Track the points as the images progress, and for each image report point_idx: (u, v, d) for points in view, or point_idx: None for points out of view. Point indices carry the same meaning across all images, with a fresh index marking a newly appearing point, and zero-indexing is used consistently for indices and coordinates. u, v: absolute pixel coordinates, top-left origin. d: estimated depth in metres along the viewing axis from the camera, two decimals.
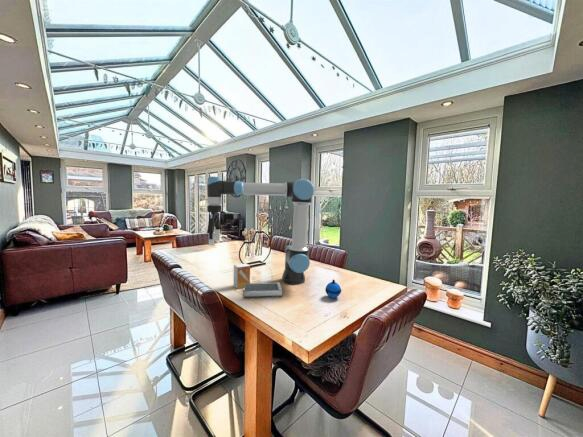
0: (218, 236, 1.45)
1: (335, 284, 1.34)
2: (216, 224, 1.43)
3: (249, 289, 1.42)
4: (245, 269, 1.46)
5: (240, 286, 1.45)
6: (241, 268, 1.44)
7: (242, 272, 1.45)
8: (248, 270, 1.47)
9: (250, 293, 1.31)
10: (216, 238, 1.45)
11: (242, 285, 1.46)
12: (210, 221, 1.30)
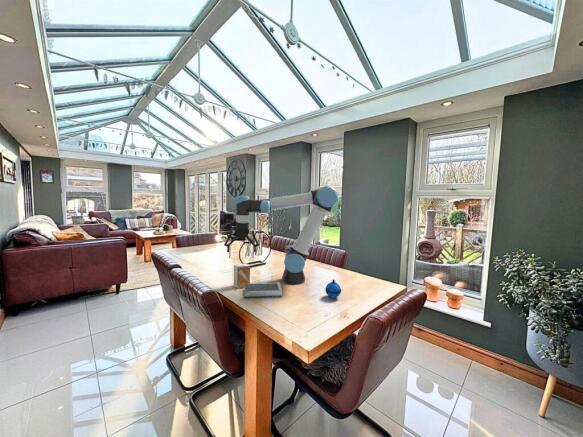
0: None
1: (335, 284, 1.34)
2: (250, 241, 1.47)
3: (249, 289, 1.42)
4: (245, 269, 1.46)
5: (240, 286, 1.45)
6: (241, 268, 1.44)
7: (242, 272, 1.45)
8: (248, 270, 1.47)
9: (250, 293, 1.31)
10: None
11: (242, 285, 1.46)
12: None
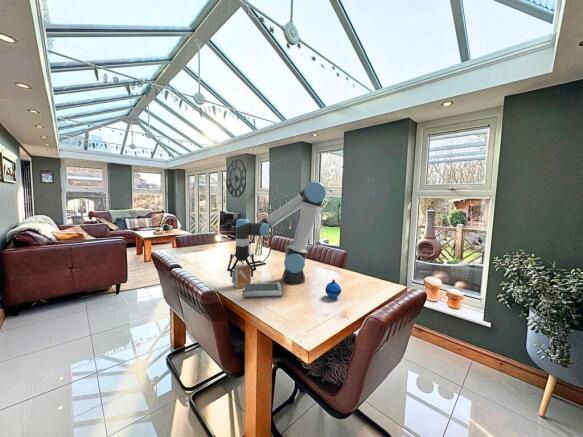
0: None
1: (335, 284, 1.34)
2: (248, 265, 1.48)
3: (249, 289, 1.42)
4: (245, 269, 1.46)
5: (240, 286, 1.45)
6: (241, 268, 1.44)
7: (242, 272, 1.45)
8: (248, 270, 1.47)
9: (250, 293, 1.31)
10: None
11: (242, 285, 1.46)
12: None
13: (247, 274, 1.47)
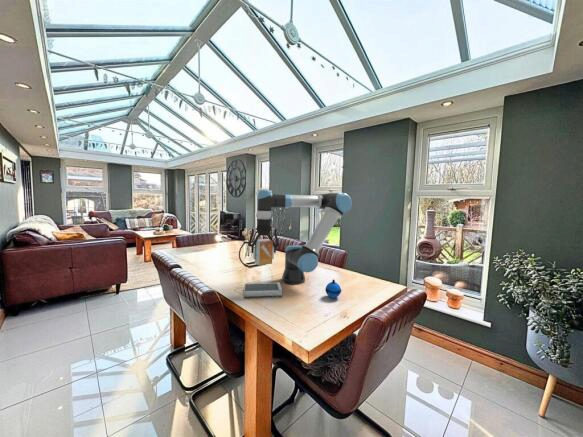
0: (272, 254, 1.37)
1: (335, 284, 1.34)
2: None
3: (249, 289, 1.42)
4: (267, 244, 1.34)
5: (262, 262, 1.34)
6: (263, 242, 1.33)
7: (264, 247, 1.34)
8: (271, 245, 1.36)
9: (250, 293, 1.31)
10: (272, 256, 1.38)
11: (264, 261, 1.34)
12: None
13: (270, 250, 1.36)
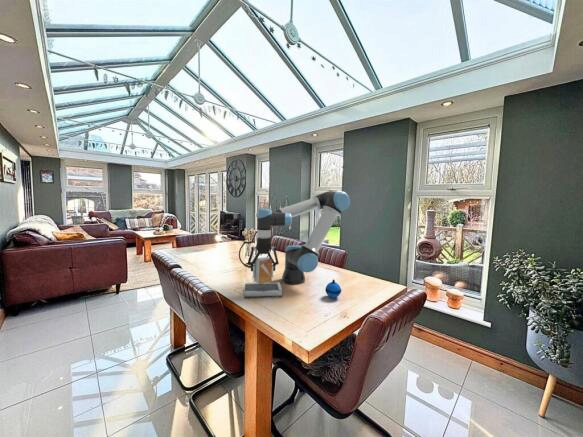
0: None
1: (335, 284, 1.34)
2: None
3: (249, 289, 1.42)
4: (267, 263, 1.35)
5: (262, 281, 1.35)
6: (263, 261, 1.34)
7: (264, 266, 1.34)
8: (270, 264, 1.36)
9: (250, 293, 1.31)
10: None
11: (264, 280, 1.35)
12: (250, 253, 1.36)
13: (269, 268, 1.36)
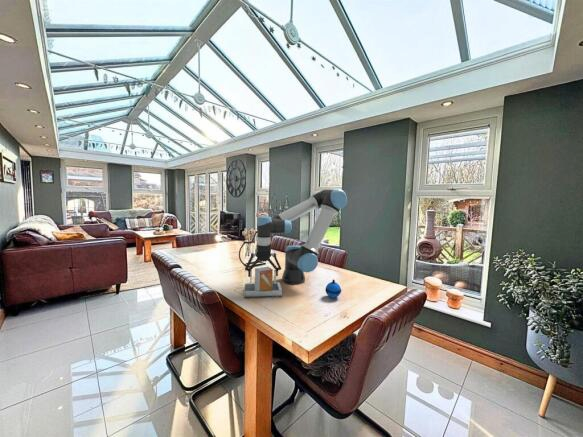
0: (274, 277, 1.38)
1: (335, 284, 1.34)
2: (271, 264, 1.38)
3: (249, 289, 1.42)
4: (267, 273, 1.36)
5: None
6: (263, 271, 1.34)
7: (264, 276, 1.35)
8: (270, 274, 1.37)
9: (250, 293, 1.31)
10: (274, 279, 1.40)
11: (264, 290, 1.36)
12: (249, 259, 1.36)
13: (269, 278, 1.37)
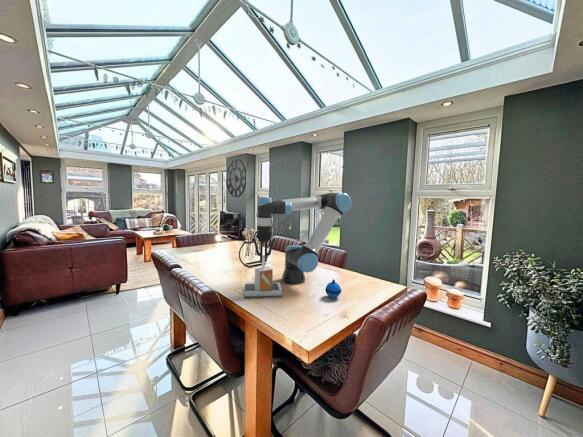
0: None
1: (335, 284, 1.34)
2: None
3: (249, 289, 1.42)
4: (267, 273, 1.36)
5: None
6: (263, 271, 1.34)
7: (264, 276, 1.35)
8: (270, 274, 1.37)
9: (250, 293, 1.31)
10: None
11: (264, 290, 1.36)
12: None
13: (269, 278, 1.37)
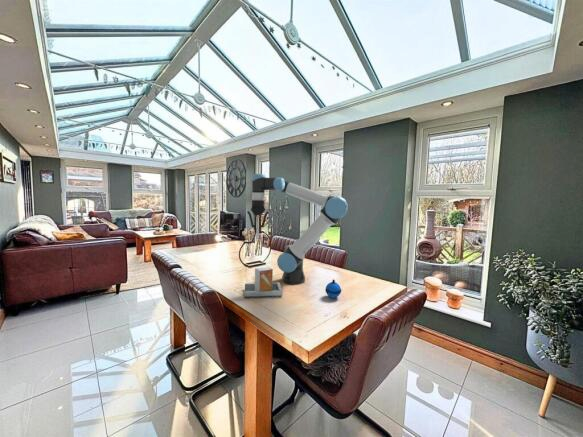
0: None
1: (335, 284, 1.34)
2: None
3: (249, 289, 1.42)
4: (267, 273, 1.36)
5: None
6: (263, 271, 1.34)
7: (264, 276, 1.35)
8: (270, 274, 1.37)
9: (250, 293, 1.31)
10: None
11: (264, 290, 1.36)
12: None
13: (269, 278, 1.37)
